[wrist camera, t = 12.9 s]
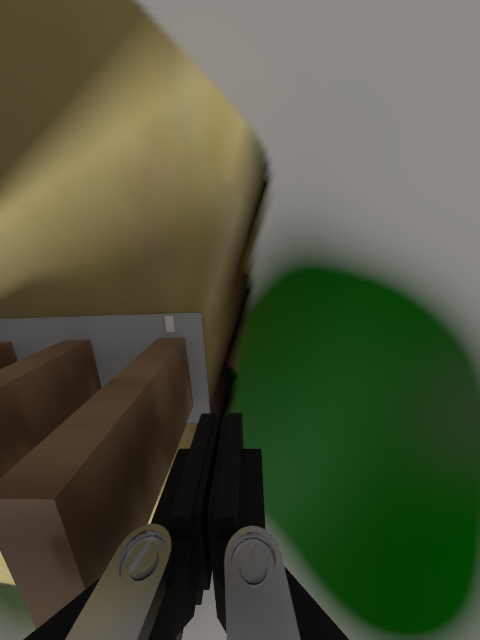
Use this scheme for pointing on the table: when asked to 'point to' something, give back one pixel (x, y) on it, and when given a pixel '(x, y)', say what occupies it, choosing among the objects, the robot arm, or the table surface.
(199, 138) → the table surface
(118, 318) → the felt strip
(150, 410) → the tile
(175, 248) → the table surface
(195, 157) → the table surface
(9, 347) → the tile
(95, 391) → the tile
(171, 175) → the table surface
